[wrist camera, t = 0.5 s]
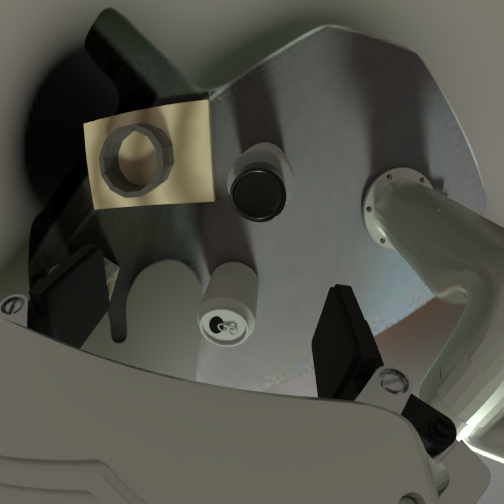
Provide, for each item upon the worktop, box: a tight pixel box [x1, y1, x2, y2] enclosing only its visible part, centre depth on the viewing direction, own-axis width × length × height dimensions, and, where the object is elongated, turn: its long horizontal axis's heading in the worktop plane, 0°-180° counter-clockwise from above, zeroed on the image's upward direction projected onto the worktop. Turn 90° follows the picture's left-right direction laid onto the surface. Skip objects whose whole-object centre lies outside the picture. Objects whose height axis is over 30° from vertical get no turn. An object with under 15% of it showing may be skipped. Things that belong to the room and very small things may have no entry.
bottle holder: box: [84, 100, 216, 209], centre depth 34 cm, size 20×14×5 cm
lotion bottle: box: [227, 142, 295, 222], centre depth 27 cm, size 6×6×20 cm
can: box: [197, 262, 259, 347], centre depth 39 cm, size 8×8×12 cm
